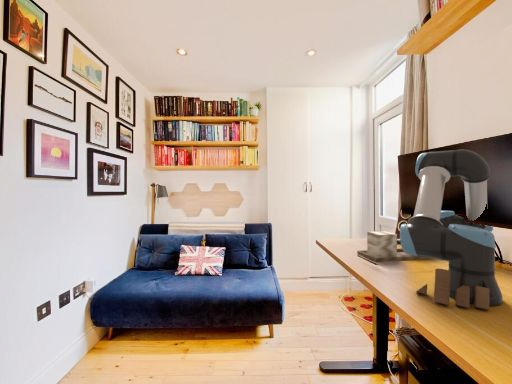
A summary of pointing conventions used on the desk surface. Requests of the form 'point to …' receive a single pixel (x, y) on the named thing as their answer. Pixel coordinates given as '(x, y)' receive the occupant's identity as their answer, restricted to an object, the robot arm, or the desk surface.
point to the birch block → (381, 244)
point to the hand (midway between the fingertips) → (390, 242)
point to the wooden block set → (457, 292)
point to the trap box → (400, 256)
